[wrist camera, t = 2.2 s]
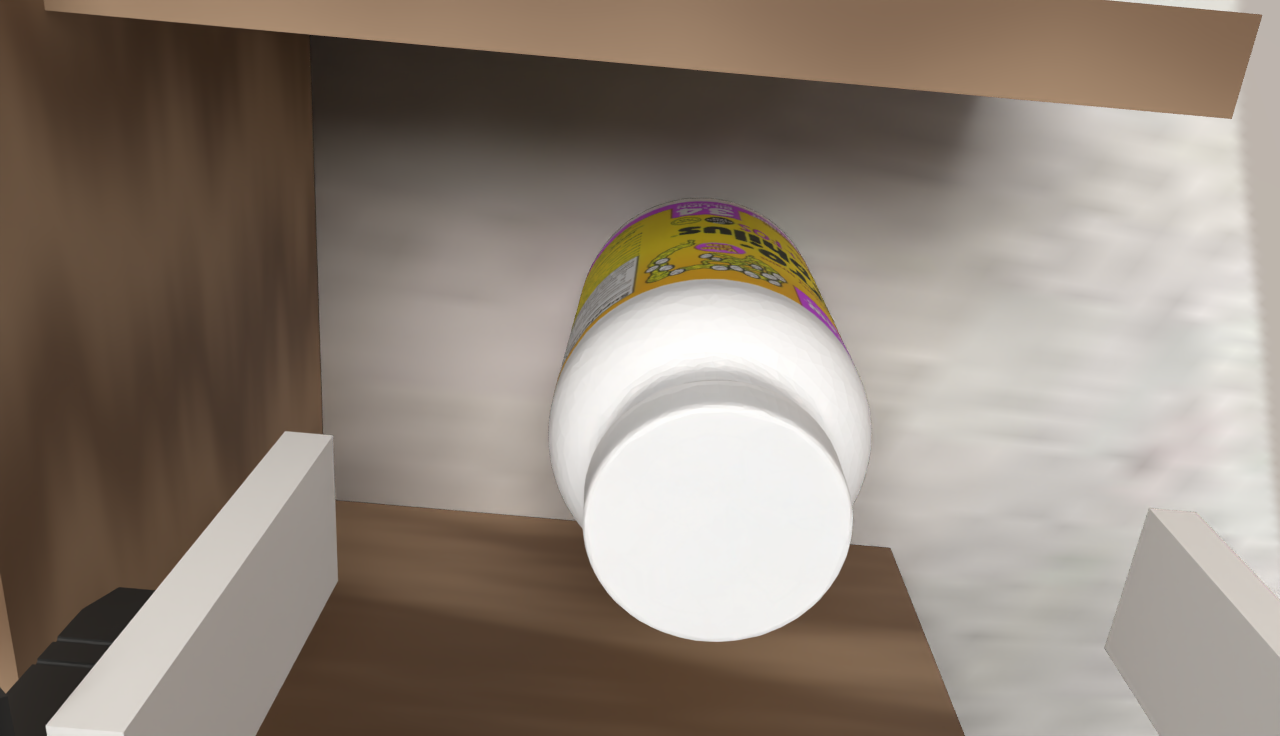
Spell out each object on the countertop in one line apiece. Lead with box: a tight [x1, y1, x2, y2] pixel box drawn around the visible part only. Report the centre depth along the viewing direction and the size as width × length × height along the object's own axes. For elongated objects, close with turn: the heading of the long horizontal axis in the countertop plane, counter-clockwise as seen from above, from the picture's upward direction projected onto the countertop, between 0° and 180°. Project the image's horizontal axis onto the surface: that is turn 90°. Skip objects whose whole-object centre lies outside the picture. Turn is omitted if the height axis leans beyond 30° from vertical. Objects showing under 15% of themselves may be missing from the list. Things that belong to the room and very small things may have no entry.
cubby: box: [0, 0, 1262, 736], centre depth 22 cm, size 18×20×15 cm
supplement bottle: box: [548, 198, 872, 642], centre depth 23 cm, size 7×7×13 cm
